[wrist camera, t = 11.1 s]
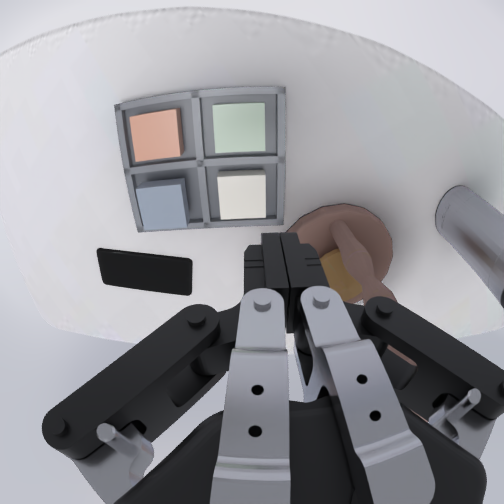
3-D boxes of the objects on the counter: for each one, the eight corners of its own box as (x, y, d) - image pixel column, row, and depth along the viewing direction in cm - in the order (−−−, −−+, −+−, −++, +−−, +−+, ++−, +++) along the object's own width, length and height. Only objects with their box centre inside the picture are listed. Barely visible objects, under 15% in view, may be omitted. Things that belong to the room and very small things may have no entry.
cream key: (264, 169, 29) (265, 175, 28) (264, 209, 32) (265, 217, 30) (218, 171, 29) (217, 177, 27) (221, 211, 32) (220, 219, 30)
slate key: (184, 178, 28) (180, 184, 26) (190, 219, 31) (187, 227, 29) (141, 182, 28) (135, 189, 26) (149, 221, 31) (144, 230, 29)
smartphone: (95, 249, 35) (192, 260, 37) (97, 246, 36) (193, 256, 38) (102, 284, 39) (191, 296, 41) (104, 281, 40) (192, 293, 41)
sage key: (263, 102, 25) (264, 102, 23) (263, 146, 28) (265, 151, 26) (214, 104, 25) (212, 105, 23) (217, 149, 28) (215, 153, 26)
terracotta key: (180, 107, 25) (175, 109, 23) (184, 151, 28) (180, 156, 26) (136, 114, 25) (129, 117, 23) (141, 157, 27) (135, 161, 26)
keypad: (282, 87, 25) (285, 86, 23) (280, 216, 34) (283, 224, 32) (122, 103, 25) (114, 105, 23) (143, 224, 34) (137, 232, 32)
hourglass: (279, 200, 33) (334, 400, 12) (400, 207, 34) (512, 345, 13) (269, 303, 43) (287, 461, 22) (369, 299, 44) (421, 430, 23)
